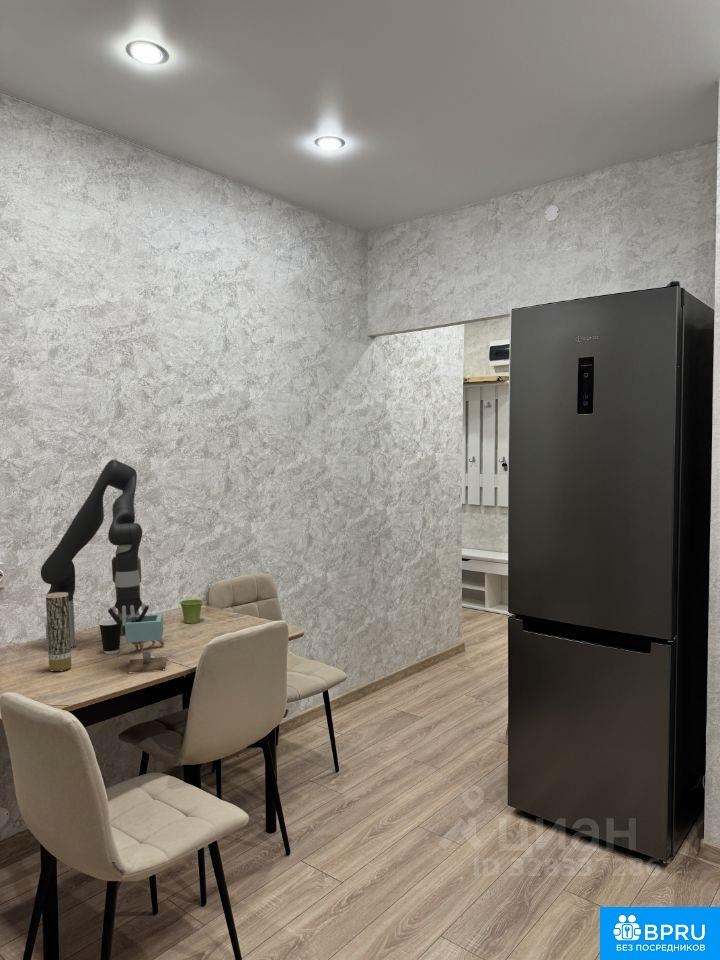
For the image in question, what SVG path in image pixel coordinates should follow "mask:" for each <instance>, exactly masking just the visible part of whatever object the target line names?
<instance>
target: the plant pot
mask: <svg viewBox="0 0 720 960" xmlns="http://www.w3.org/2000/svg"><path fill="white" fill-rule="evenodd" d="M203 603H204V600H202V599H193V598H192V599H184V600H181V601H180V602H179V604H180V607H181V609H182V616H183V622H184V624H186V623H188V624H191V623H194V624H198V623H199V622H200V620H201V612H202V611H201V610H202V606H203ZM197 622H198V623H197Z"/></svg>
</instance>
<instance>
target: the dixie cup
mask: <svg viewBox="0 0 720 960" xmlns="http://www.w3.org/2000/svg"><path fill="white" fill-rule="evenodd" d="M98 625H99V630H100V636H101V642H102V649H103V651H104V654H105V653H106V654H105V655H114V654H117V652H118V653H119V652H120V648H121V636H120V635H121V625H120V624H117V623H116V622H115V620H114V619H113V618H109V619H105V620H100V621H99V622H98Z"/></svg>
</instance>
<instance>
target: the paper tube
mask: <svg viewBox="0 0 720 960" xmlns="http://www.w3.org/2000/svg"><path fill="white" fill-rule="evenodd" d="M45 605H46V606H45V607H46V608H45V610H46V624H47V634H48V650H47V652H48V668H49V669H50V670H53V671H60V672H62V671H61V670H65V671H67V670H66V669H68V670H70V669H71V668H72V652H71V651H72V648H71V644H70V622H69V599H68V593H67V592H57V593H50V594H47V593H46V595H45ZM69 668H70V669H69ZM50 670H49V671H50Z"/></svg>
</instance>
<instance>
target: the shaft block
mask: <svg viewBox="0 0 720 960" xmlns="http://www.w3.org/2000/svg"><path fill="white" fill-rule="evenodd" d="M151 654H152V652H151V651H143V652H142V658H133V659H130V660H129V662H128V665H127V667H126V670H125V674H126V673H127V674H130V673H129V672H139V673H144V672H143V671H151V672H154V671H153V670H162V671H164V670H163V669H165V670H166V667H167V662H168V656H159V657H151V656H152V655H151ZM166 661H167V662H166ZM165 666H166V667H165Z"/></svg>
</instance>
